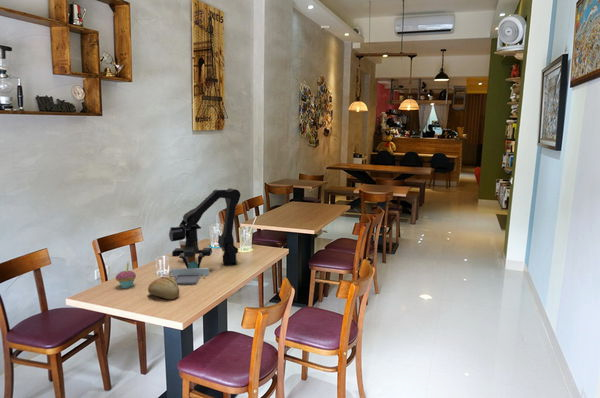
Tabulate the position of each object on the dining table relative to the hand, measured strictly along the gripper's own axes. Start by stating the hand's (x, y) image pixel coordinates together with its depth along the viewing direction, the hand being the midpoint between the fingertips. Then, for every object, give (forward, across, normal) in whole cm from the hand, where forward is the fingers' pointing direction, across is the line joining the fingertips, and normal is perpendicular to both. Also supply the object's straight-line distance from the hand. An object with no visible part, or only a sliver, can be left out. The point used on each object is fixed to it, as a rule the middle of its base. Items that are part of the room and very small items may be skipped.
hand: (193, 268), depth 224 cm
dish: (+1, 0, -14) cm, 15 cm away
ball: (-1, 0, 0) cm, 1 cm away
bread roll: (+2, -5, -33) cm, 33 cm away
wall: (+1, 0, -7) cm, 7 cm away
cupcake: (+1, -26, -20) cm, 33 cm away
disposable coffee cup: (+1, -6, +17) cm, 18 cm away
